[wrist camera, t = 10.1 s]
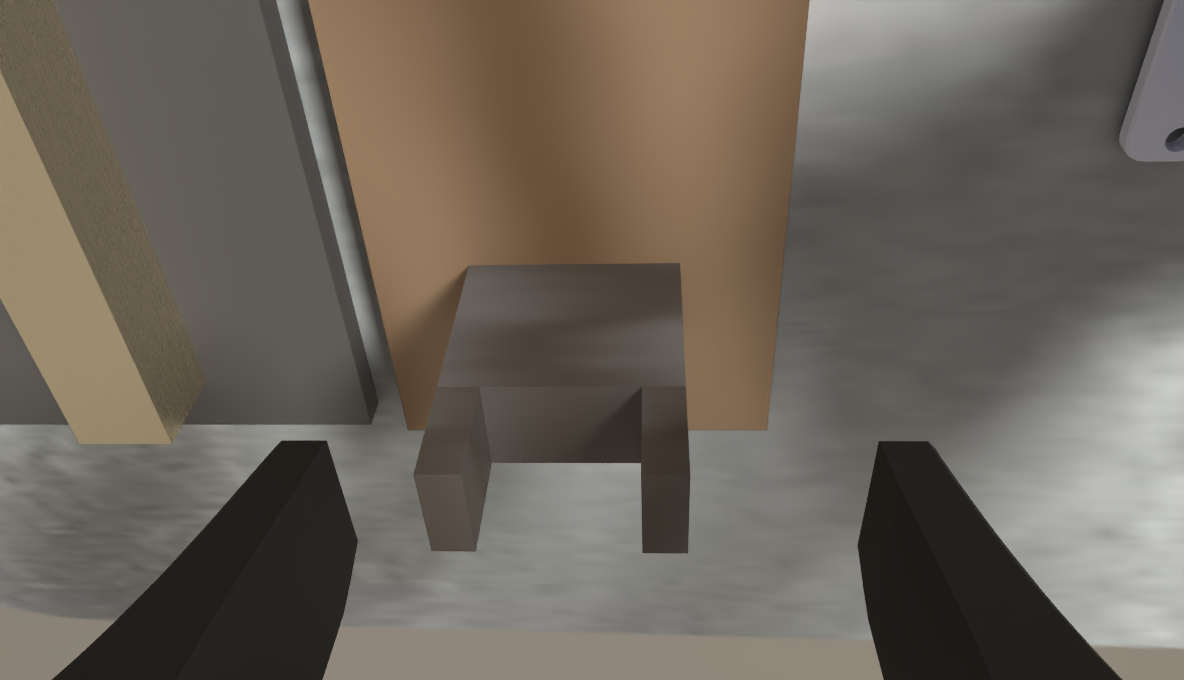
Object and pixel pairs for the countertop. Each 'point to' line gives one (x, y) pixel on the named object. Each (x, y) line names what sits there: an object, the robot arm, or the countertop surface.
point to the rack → (570, 228)
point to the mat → (219, 211)
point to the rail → (82, 249)
